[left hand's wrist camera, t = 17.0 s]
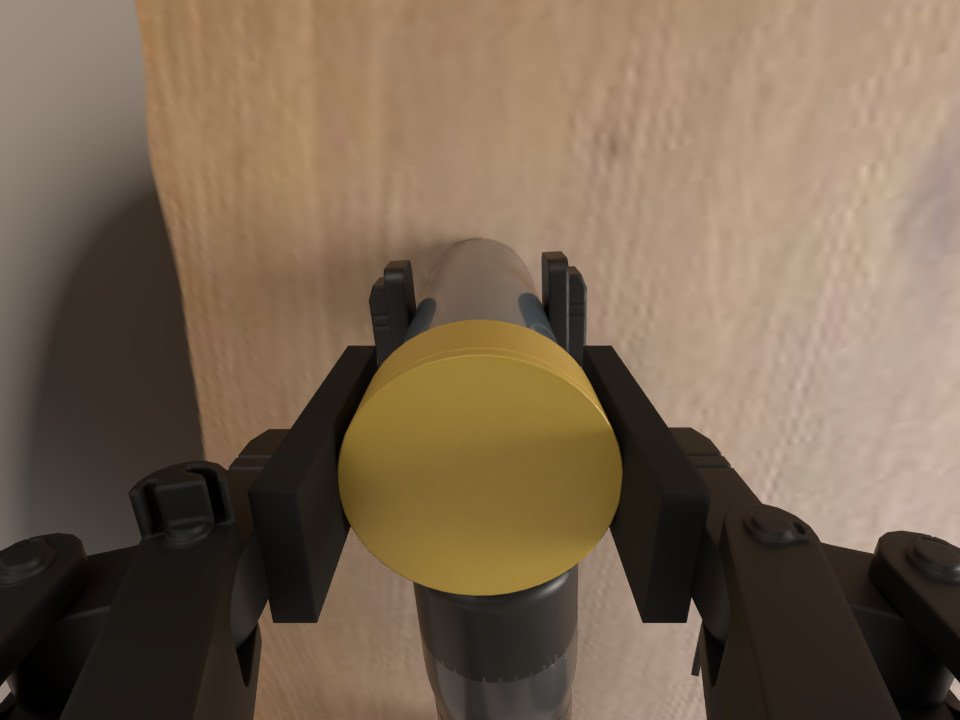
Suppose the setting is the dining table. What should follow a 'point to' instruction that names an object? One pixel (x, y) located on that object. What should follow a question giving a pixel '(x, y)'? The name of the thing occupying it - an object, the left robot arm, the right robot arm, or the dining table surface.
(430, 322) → the grey tall cylinder
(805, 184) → the dining table surface
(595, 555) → the dining table surface
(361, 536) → the lid
